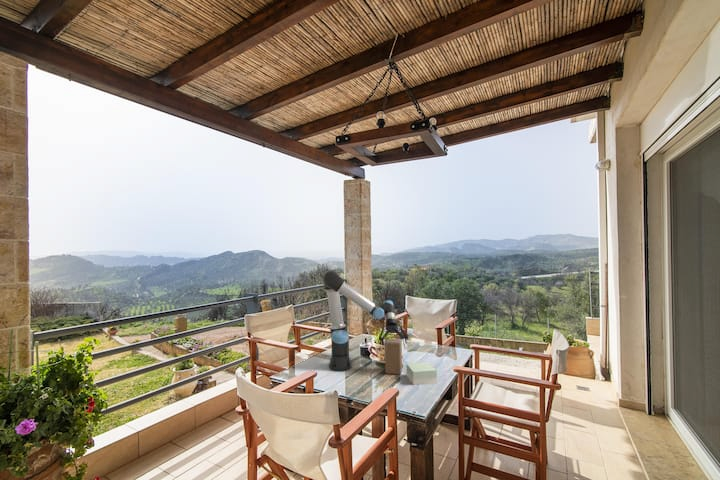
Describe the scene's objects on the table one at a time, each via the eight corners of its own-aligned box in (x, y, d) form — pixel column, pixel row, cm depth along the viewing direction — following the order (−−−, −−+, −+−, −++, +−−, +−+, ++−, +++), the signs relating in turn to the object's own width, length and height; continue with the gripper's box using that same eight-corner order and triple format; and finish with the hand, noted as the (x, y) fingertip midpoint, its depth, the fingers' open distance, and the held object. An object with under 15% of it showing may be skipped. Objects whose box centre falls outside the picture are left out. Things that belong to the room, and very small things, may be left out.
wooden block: (400, 375, 202) (400, 342, 203) (385, 374, 204) (384, 342, 205) (402, 369, 212) (401, 338, 213) (386, 368, 214) (386, 337, 215)
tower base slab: (413, 385, 188) (413, 378, 188) (406, 376, 201) (406, 369, 202) (436, 383, 190) (436, 377, 190) (427, 374, 204) (427, 368, 204)
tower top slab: (413, 378, 187) (413, 371, 188) (406, 370, 201) (406, 363, 201) (436, 377, 190) (436, 370, 190) (428, 368, 203) (428, 362, 204)
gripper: (407, 322, 232) (412, 350, 216) (372, 324, 229) (375, 352, 214) (409, 317, 226) (414, 345, 211) (373, 318, 224) (376, 346, 209)
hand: (395, 348), depth 213 cm, fingers open, 13 cm apart
